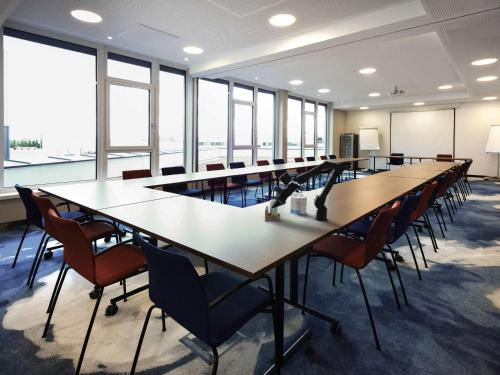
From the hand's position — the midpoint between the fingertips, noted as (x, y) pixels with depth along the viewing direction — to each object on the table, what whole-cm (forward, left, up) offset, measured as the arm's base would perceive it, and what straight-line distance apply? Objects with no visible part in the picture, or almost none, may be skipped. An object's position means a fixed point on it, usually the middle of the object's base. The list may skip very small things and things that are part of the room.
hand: (272, 206), depth 200 cm
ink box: (+4, -25, -8) cm, 27 cm away
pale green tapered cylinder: (-1, -1, -8) cm, 8 cm away
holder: (-1, -1, -8) cm, 8 cm away
